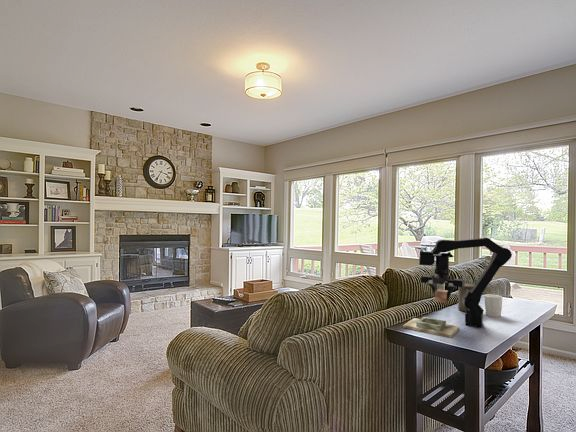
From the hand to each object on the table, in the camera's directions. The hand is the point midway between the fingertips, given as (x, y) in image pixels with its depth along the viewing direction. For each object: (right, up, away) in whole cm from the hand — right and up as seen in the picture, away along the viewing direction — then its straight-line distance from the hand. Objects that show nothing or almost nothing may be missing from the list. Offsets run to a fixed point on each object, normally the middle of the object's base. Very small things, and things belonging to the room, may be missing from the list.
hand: (441, 299), depth 167 cm
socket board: (-9, -11, -10) cm, 17 cm away
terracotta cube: (0, -1, 0) cm, 1 cm away
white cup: (+31, -11, +12) cm, 35 cm away
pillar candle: (+23, -11, +21) cm, 33 cm away
